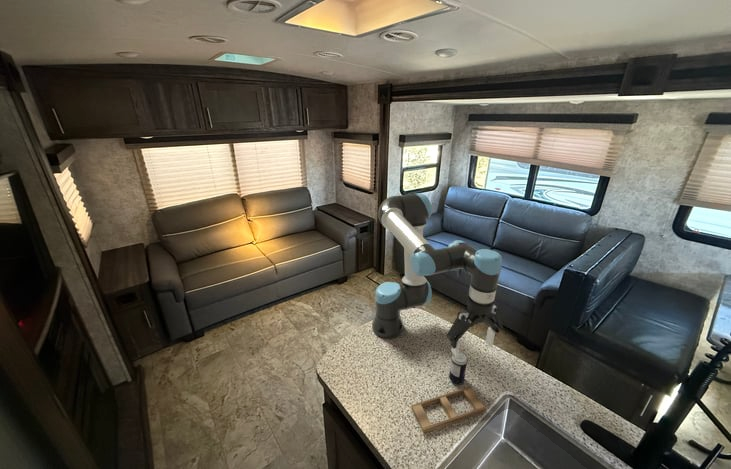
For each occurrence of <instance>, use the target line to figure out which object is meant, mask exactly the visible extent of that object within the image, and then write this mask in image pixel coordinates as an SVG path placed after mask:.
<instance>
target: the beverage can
mask: <svg viewBox="0 0 731 469" xmlns="http://www.w3.org/2000/svg"><path fill="white" fill-rule="evenodd" d="M467 364H468V359H467V356H466V355H465V353H463V352H460V351H459V352H458V357H455V355H454V354H453V353H452V355H451V359H450V364H449V366H450V367H449V373H448V377H449V380H450V382H451V383H453V384H455V385H461V384H464V382H465V376H466V371H467Z"/></svg>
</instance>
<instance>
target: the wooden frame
mask: <svg viewBox="0 0 731 469" xmlns="http://www.w3.org/2000/svg"><path fill="white" fill-rule="evenodd" d="M462 395H463V396H464V398H465V399H466V401H467V402H468V404H469V405H470V407H471V408H472V409H473V410H471V411H468V412H465V413H461V414H460V415H458V413H457V412H456V410H455V409H454V407H453V406H452V404H451V402H450V401H449V399H452V398H455V397H459V396H462ZM437 403H439V404H440V406H441V407H442V409H443V411H444V412H445V414H446V416H447V419H445V420H443V421H438V422H436V423H431V421H430V419H429V417H428V416H427V414H426V411H425V409H424V408H425V407H428V406H432V405H434V404H437ZM410 409H411V411H412V413H413V415H414V418H415V419H416V421H417V424H418V425H419V428H420V430H421V432H422V434H423V435H424V434H428V433H430V432H434V431H436V430H439V429H441V428H445V427H447V426H450V425H453V424H456V423H458V422H462V421H464V420H467V419H470V418H472V417H475V416H478V415H481V414H484V413H486V410H487V407H486V406H485V405H484V404H483V402H482V401H481V399H480V398H479V397H478V395H477V394H476V393H475V392H474V390H473V388H472V387H471V386H467V387H464V388H461V389H457V390H454V391H452V392H449V393H445V394H443V395H439V396H436V397H433V398H429V399H427V400H424V401H421V402H420V401H419V402H417V403H414V404H411V408H410Z"/></svg>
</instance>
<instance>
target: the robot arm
mask: <svg viewBox="0 0 731 469" xmlns="http://www.w3.org/2000/svg"><path fill="white" fill-rule="evenodd" d="M432 214H433V207H432V204H431V202H430V199H429V197H428V196H426V195H425V194H424V193H410V194H402V195H393V196H392V195H391V196H389V197H387V198H386V199H384V200H383V201H382V202H381V204H380V206H379V207H378V212H377V217H378V219H379V223H380V224H381V225H382V227H384V228H385V229H386V230H389V231H390V232H391V233H392V234H393V236H394V238H395V239H396V240H397V241H398V242H399V243H400V244H401V246H402V247H403V249H404V251H403V252H404V254H403V255H404V276H402V279H401V284H399V283H398V282H395V281H393V282H392V281H386V282H383V283H381V284H379V285H378V286H377V288H376V290H375V296H374V299H375V300H374V301H375V315H374V317H373V318H372V319H373V320H372V323H371V329H372V331H373V333H374V334H375V335H376V336H377V337H379V338H382V339H395V338H398V337H399V336H400V335H401V334H402V333H403V331H404V323H403V319H402V318H401V311H404V310H407V309H412V308H416V307H421V306H424V305H427V304H429V303H430V301H431V299H432V294H433V293H432V292H433V291H432V286H431V284H430V282H429V281H428V280H427V278H426V277H427V276H429V277H430V276H432V275H437V274H441V273H445V272H446V273H447V272H452V271H457V270H460V269H462V270H463V271H465V272H466V273H468V274H469V275H470V276H471V277H470V283H469V288H468V289H469V291H468V295H467V296H468V297H467V303H466V307H467V310H466V312H461V311H459V312H458V313H457V316H456V318H455V320H454V322H453V323H452V325H451V326H450V328H449V329H448V332H447V333H446V335H445V336H446V337H447V339H448V340H449V342H450V346H451V349H450V350H451V351H450V352H452V355H453V354H454V355H455V357H458V352H460V344H461V341H460V340H461V338H462V337H463V336H464V335H465V334H466V333H467V331H469V329H470V328H473V327H474V326H475V325H477V324H482V323H484V322H486V323H487V324H488V327H487V331H486V336H485V340H484V341H485V343H486V345H488V346H489V348H492V347H493V345H494V341H495V339H496V336H497V334H499V333H500V332H501V329H503V328H504V326H503V322H502V319H501V316H500V308H498V307H497V306H496V305H495V298H496V295H497V294H496V293H497V288H498V285H499V284H498V283H499V278H500V275H501V272H502V263H503V262H502V261H503V257H502V255H501V254H500V253H499V252H497V251H495V250H492V249H488V248H482V249H476V248H475V247H473V246H472V245H470V244H469V243H466V242H465V241H464V240H462V239H461V240H459V239H458V240H453V241H452V242H450V243H449V245H448V246H447V247H443V248H437V249H436V248H434V247H433V246H432V245H431V244H430V243H429V242H428V240H426V238H425V237H424V227H425V226H427V220H428V219H430V218H431V216H432ZM425 276H426V277H425ZM490 315H491V316H492V318H493V321H492V319H490V317H489V316H490Z"/></svg>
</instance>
